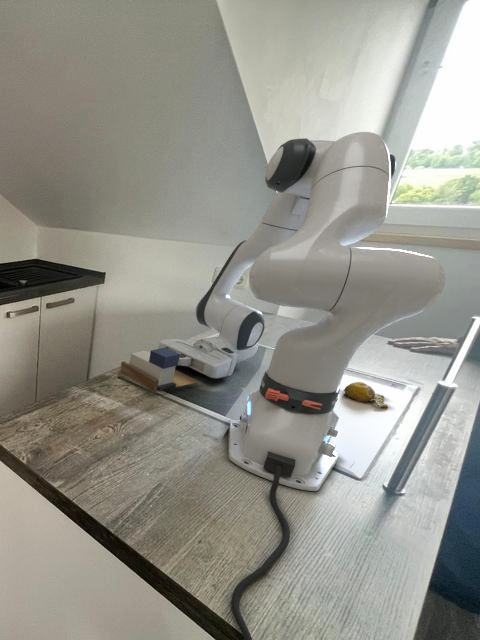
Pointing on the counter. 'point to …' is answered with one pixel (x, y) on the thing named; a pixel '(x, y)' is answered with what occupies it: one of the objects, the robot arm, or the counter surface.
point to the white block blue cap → (157, 365)
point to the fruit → (363, 393)
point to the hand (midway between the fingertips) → (170, 361)
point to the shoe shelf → (150, 381)
